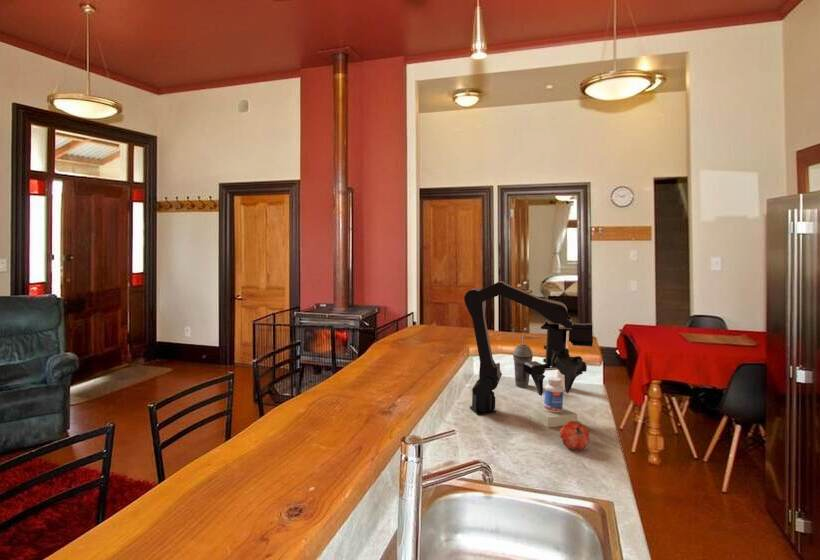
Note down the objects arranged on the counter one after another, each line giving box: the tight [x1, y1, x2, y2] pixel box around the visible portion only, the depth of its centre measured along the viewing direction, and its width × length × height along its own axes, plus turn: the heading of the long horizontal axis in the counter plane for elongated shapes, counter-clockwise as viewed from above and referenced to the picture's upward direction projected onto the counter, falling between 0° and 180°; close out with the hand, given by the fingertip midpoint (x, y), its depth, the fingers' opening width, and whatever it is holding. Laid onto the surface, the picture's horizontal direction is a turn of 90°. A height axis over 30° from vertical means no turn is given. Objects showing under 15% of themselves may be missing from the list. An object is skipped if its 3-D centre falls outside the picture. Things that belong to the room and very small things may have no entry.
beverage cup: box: [512, 332, 534, 389], centre depth 183 cm, size 7×7×20 cm
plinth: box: [529, 403, 578, 428], centre depth 151 cm, size 10×10×3 cm
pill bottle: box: [543, 376, 564, 412], centre depth 150 cm, size 6×5×10 cm
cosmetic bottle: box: [554, 331, 570, 391], centre depth 180 cm, size 6×6×22 cm
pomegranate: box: [559, 421, 590, 451], centre depth 131 cm, size 7×7×10 cm
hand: (553, 394), depth 150 cm, fingers open, 9 cm apart
